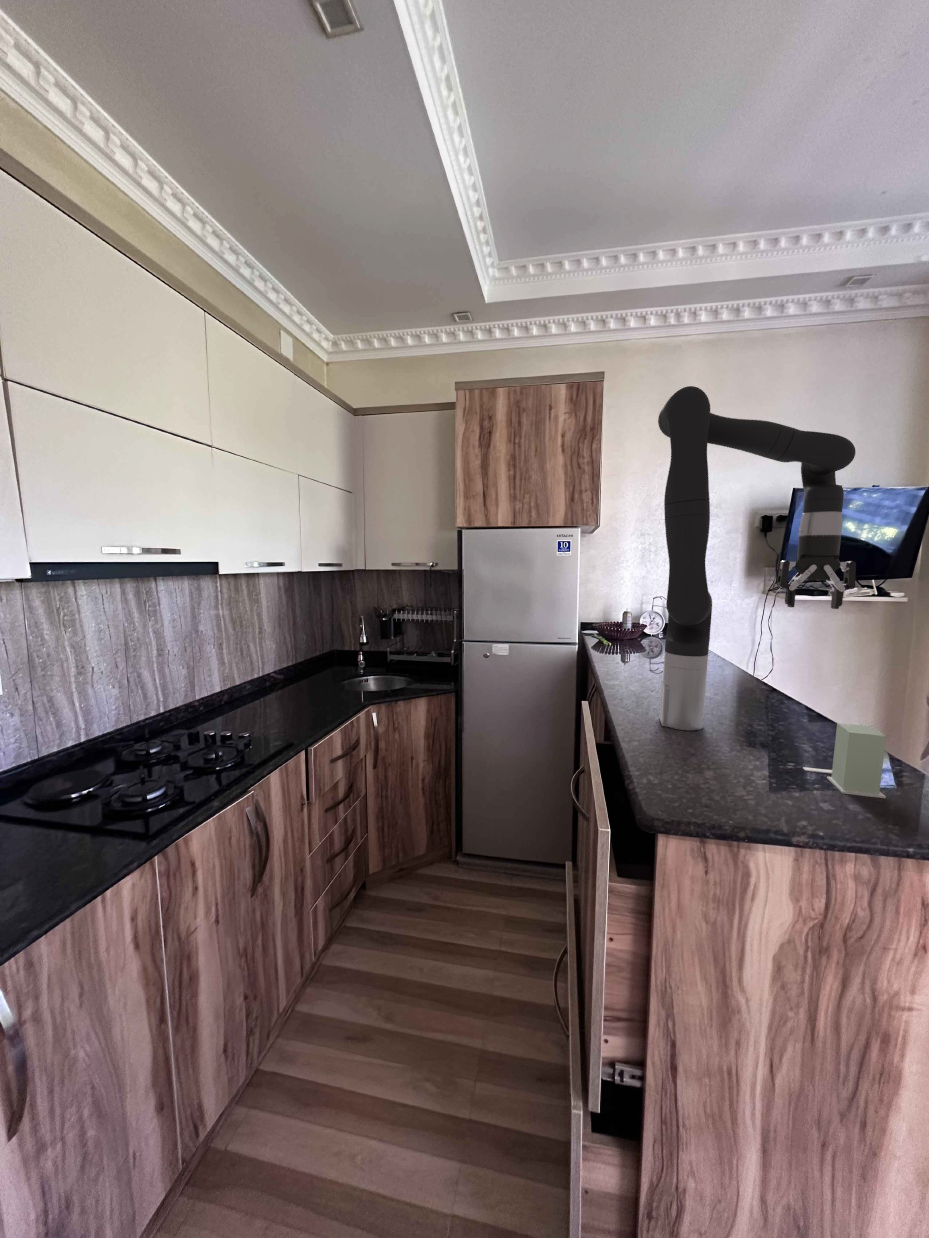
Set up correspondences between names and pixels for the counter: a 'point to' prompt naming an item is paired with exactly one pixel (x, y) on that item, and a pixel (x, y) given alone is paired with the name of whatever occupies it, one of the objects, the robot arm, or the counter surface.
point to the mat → (854, 791)
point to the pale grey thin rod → (819, 770)
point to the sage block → (858, 758)
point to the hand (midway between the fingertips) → (812, 607)
